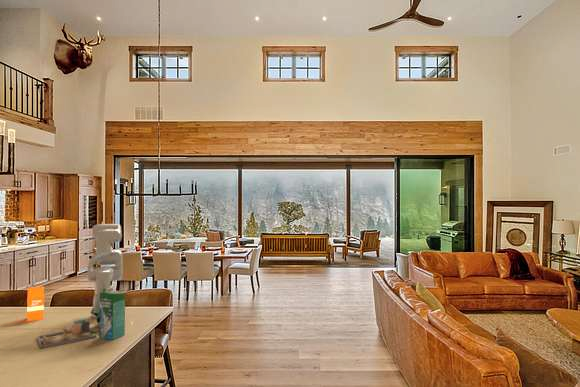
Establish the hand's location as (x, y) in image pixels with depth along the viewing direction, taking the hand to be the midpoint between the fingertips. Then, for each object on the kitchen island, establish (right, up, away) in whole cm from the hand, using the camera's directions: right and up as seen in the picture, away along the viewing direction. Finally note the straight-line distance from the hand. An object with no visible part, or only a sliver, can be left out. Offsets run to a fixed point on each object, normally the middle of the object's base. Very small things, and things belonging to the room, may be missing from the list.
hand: (102, 322), depth 218 cm
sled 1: (-9, -3, -19) cm, 22 cm away
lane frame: (-11, -3, -15) cm, 19 cm away
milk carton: (+12, -3, -13) cm, 18 cm away
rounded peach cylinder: (-6, 0, -16) cm, 17 cm away
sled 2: (-7, -3, -6) cm, 10 cm away
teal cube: (-9, -1, -8) cm, 12 cm away
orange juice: (-53, -4, +19) cm, 57 cm away
